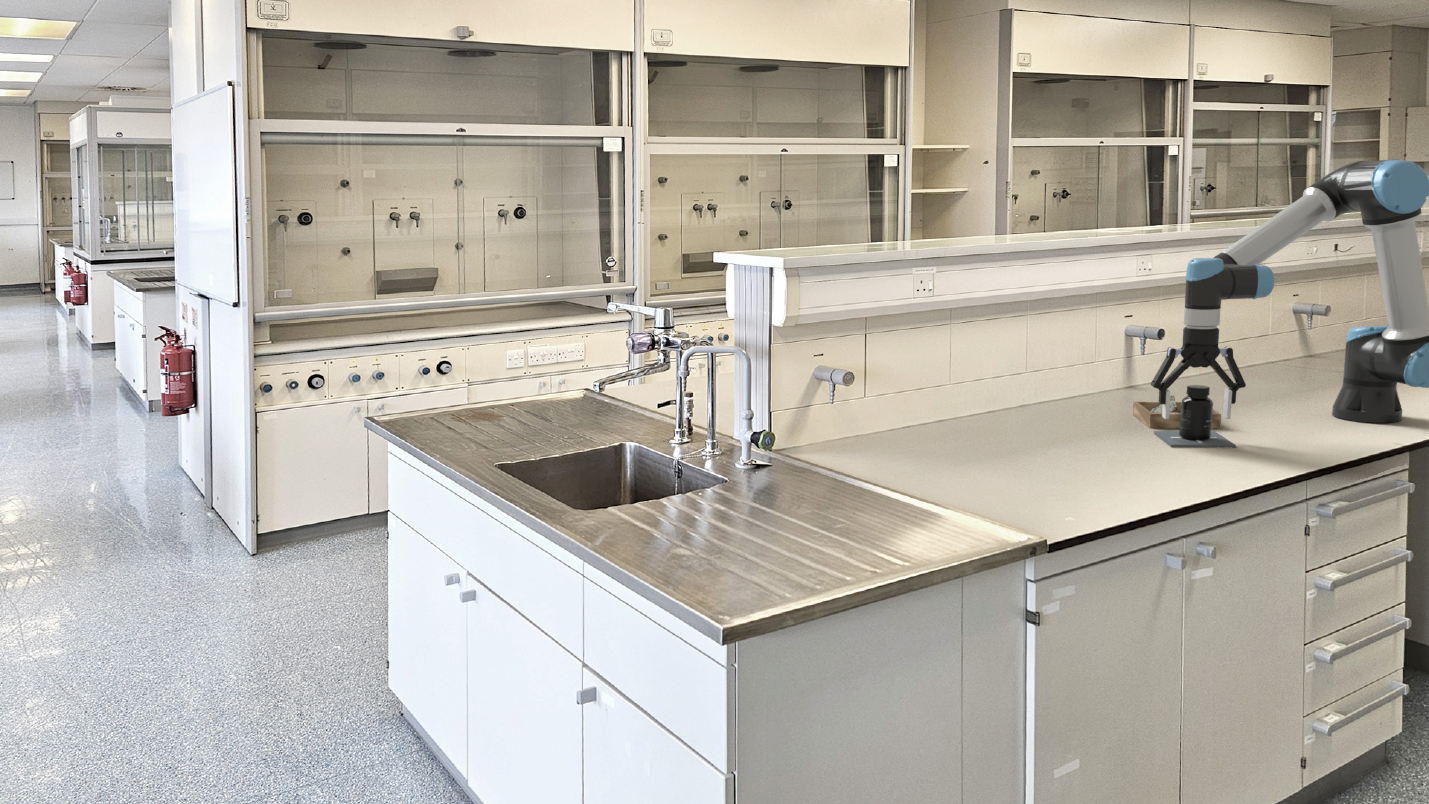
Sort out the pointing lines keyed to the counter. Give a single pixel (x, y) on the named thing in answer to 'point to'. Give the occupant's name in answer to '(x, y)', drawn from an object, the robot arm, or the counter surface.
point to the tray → (1157, 421)
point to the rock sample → (1172, 408)
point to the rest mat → (1176, 441)
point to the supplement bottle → (1196, 413)
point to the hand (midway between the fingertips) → (1195, 417)
